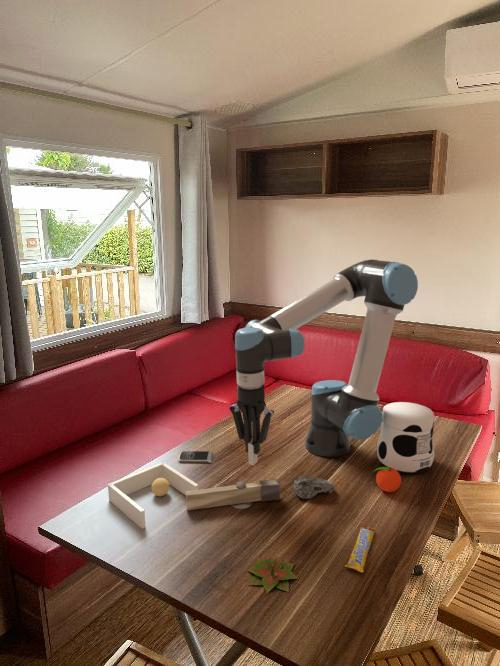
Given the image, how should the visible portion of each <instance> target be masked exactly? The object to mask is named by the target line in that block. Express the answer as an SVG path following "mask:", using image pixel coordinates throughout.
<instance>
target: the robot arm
mask: <svg viewBox="0 0 500 666" xmlns="http://www.w3.org/2000/svg"><path fill="white" fill-rule="evenodd" d="M418 285H419V281H418V277H417V275H416V274H415V271H414V269H413V268H412V267H411V266H409V265H408V264H405V263H401V262H397V261H388V260H378V259H365V260H363V261H359V262H357V263H355V264H352V265H350V266H349V267H346V268H344V269H342V270H341V271H339V272H338V273H335V275H333V277H332V279H331V280H330V281H328V282H326V283H325V284H323V285H321V286H320V287H318V288H316V289H315V290H312V291H311V292H309V293H307V294H305V295H304V296H302V297H301V298H299V299H297V300H295V301H293V302H292V303H290V304H288V305H286V306H285V307H283V308H281V309H280V310H277V311H275V312H274V313H272V314H271V315H269V316H267V317H266V318H263V319H262V320H260V319H252V320H250V321H249V322H248V323H247V324H246V325H245V327H243V328H239V329H238V330H237V331H236V332H235V338H234V349H235V365H236V369H235V370H236V371H235V372H236V384H237V386H236V393H237V394H236V397H237V400H236V402H235V403H233V404H232V405H231V406H230V407H229V411H230V412H231V413H232V414H231V415H232V416H233V421H234V425H235V428H236V432H237V435H238V436H237V437H238V439H239V440H243V441H244V442H245V444H244V445H245V452H246V453H248V465H250V466H255V465H256V464H257V462H258V454H260V451H261V444H263V443H264V442H265V441H266V440H267V435H268V431H269V428H270V423H271V419H272V417H273V415H274V413H275V410H273V409H271V410H270V409H269V408H268V407H267V403H266V401H265V399H266V398H265V397H266V395H265V394H266V392H265V391H266V390H265V387H266V386H265V362H266V363H267V362H272V361H277V360H285V359H292V358H294V357H295V358H296V357H298V356H301V355H302V354H303V353H304V351H305V347H306V346H305V343H306V342H305V339H304V336H303V334H302V332H301V331H300V330H298V329H299V328H300V327H302V326H304V325H305V324H307V323H309V322H311V321H312V320H314V319H316V318H317V317H319V316H320V315H323V314H325V313H326V312H327V311H330V310H331V309H332V308H334V307H336V306H338V305H339V304H341V303H343V302H344V301H345V302H351V301H352V300H354V299H356V298H360V297H364V300H363V303H364V305H365V307H366V309H367V310H366V313H365V317H364V322H363V325H362V330H361V333H360V337H359V341H358V343H357V347H356V352H355V357H354V359H353V364H352V369H351V373H350V377H349V380H348V384H347V382H346V381H343V380H338V379H335V380H334V379H332V380H331V379H328V380H327V379H326V380H321V381H317V382H315V383H314V384H313V385H312V387H311V394H310V395H311V403H310V404H311V407H310V408H311V409H310V412H311V413H310V425H309V429H308V431H307V434H306V436H305V442H304V444H305V445H304V446H305V449H306V450H307V451H308V452H310V453H311V454H313V455H317V456H320V457H324V458H327V457H329V458H333V457H342V456H344V455H346V454H348V453H349V452H350V450H351V439H350V437H351V438H352V439H354V440H357V441H359V440H360V441H363V440H367V439H369V438H371V437H372V436H373V435H375V434H376V433H377V432H378V431H379V430H380V429H381V423H382V418H383V416H382V411H381V409H380V408H379V402H380V396H379V394H378V393H377V389H378V386H379V381H380V378H381V374H382V370H383V367H384V364H385V363H384V362H385V358H386V356H387V351H388V348H389V344H390V341H391V336H392V332H393V329H394V325H395V321H396V318H397V316H398V315H399V314H400V313H402V312H404V308H405V305H408V304H410V303H412V300H414V299H415V298H416V296H417V293H418V288H419V286H418ZM262 414H263V417H264V418H263V420H262V423H261V417H262V416H261V415H262Z"/></svg>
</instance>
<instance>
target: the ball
mask: <svg viewBox="0 0 500 666" xmlns="http://www.w3.org/2000/svg"><path fill="white" fill-rule="evenodd" d="M169 490H170V484H169V482H168V481H167V480H166V479H164V478H158V479H156V480H155V481H154V482H153V483H152V484H151V491H152V493H153V494H154V495H155V496H157V497H163V496H166V495H167V494H168V492H169Z"/></svg>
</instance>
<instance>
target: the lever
mask: <svg viewBox="0 0 500 666" xmlns="http://www.w3.org/2000/svg"><path fill="white" fill-rule="evenodd" d="M280 485H281V484H280V483H279V481H278V479H277V478H272V479H271V478H270V479H262V480H258V481H257V482H250V483H246V482H244V481H237V482H236V483H235V484H233V485H226V486H218V487H210V488H209V487H208V488H202V489H198V490H193V491H186V495H185V505H186V510H187V511H192V510H193V511H194V510H200V509H201V510H202V509H208V508H216V507H220V506H221V507H222V506H228V505H229V506H231V504H238V503H246V502H252V503H253V502H259V501H260V502H269V501H277V500H280V497H281V495H280V489H281V487H280Z"/></svg>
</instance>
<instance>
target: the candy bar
mask: <svg viewBox="0 0 500 666" xmlns="http://www.w3.org/2000/svg"><path fill="white" fill-rule="evenodd" d="M365 527H366V525H362V524H361V525H360V526H359V529H360V530H359V533H358V535H357V538H356V541H355V544H354V547H353V549H352V552H351V553H350V557H349V560H348V561H347V564H345V565H344V567H345V568H347V569H353V570H355V571H357V572H359V573H361V574H362V573H364V568H365V565H366V561H367V558H368V554H369V551H370V548H371V545H372V542H373V540H374V539H373V538H374V535H375V533H376V530H375V528H373V527H371V526H367V527H366V528H365Z"/></svg>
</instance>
